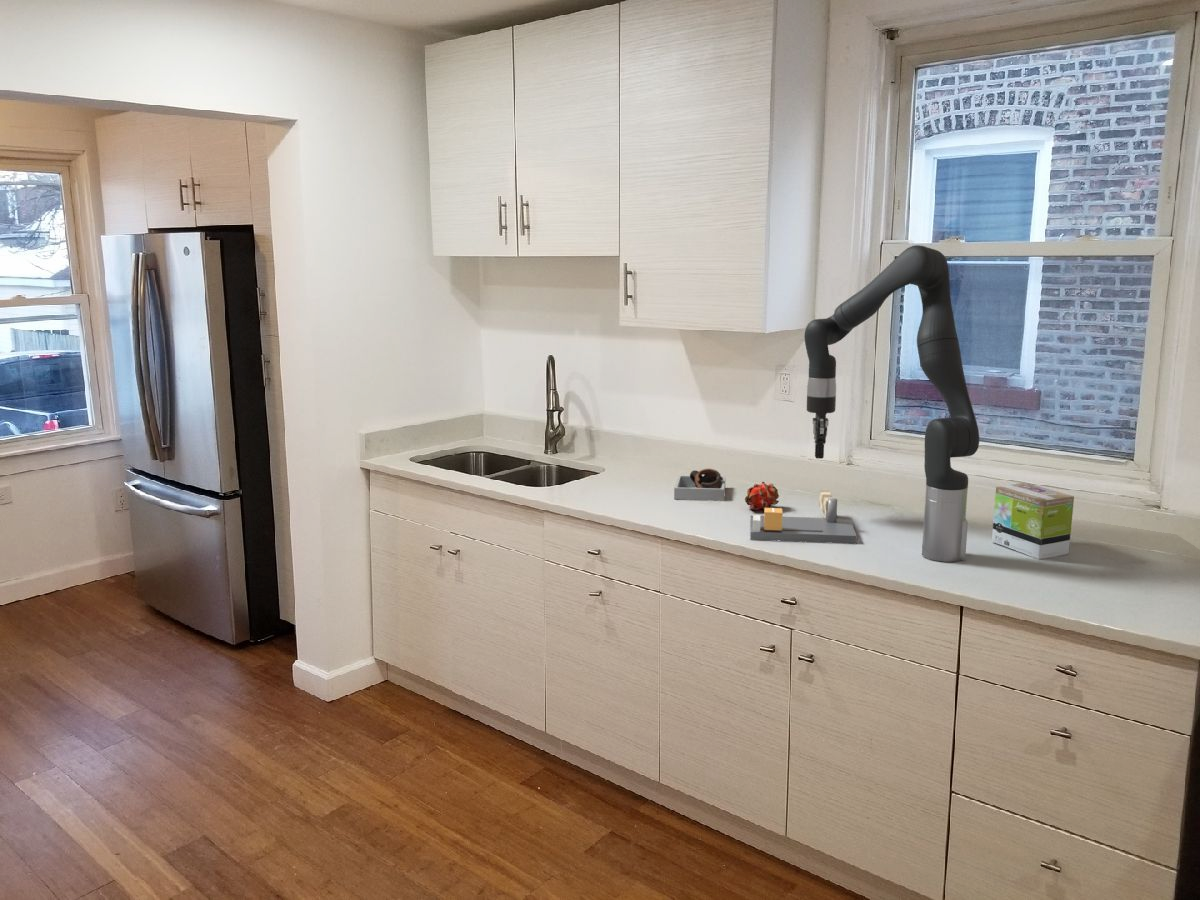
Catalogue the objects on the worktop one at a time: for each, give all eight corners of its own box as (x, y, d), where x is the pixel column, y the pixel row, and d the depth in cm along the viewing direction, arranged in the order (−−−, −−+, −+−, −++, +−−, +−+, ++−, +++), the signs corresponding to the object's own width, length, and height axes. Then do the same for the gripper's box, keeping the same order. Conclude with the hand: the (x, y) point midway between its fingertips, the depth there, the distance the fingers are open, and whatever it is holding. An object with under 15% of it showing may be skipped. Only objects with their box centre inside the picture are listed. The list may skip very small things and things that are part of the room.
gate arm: (835, 517, 249) (835, 501, 249) (825, 517, 250) (826, 501, 249) (828, 506, 261) (828, 490, 260) (819, 506, 261) (819, 490, 260)
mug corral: (725, 487, 294) (725, 476, 293) (723, 500, 278) (724, 489, 277) (678, 486, 296) (678, 475, 295) (674, 499, 280) (674, 488, 279)
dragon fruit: (779, 511, 271) (749, 524, 265) (761, 490, 276) (731, 502, 269) (791, 492, 266) (760, 505, 259) (771, 471, 270) (741, 483, 263)
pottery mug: (730, 492, 291) (729, 472, 285) (712, 510, 286) (711, 490, 280) (698, 477, 297) (697, 457, 292) (680, 494, 292) (678, 475, 287)
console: (849, 526, 251) (850, 496, 249) (856, 543, 235) (857, 512, 234) (750, 522, 255) (751, 493, 253) (750, 539, 239) (751, 509, 238)
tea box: (989, 543, 235) (994, 485, 232) (1020, 538, 239) (1024, 481, 236) (1039, 560, 221) (1044, 499, 218) (1070, 555, 225) (1076, 494, 222)
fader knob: (781, 525, 243) (781, 507, 242) (781, 530, 238) (782, 512, 237) (764, 525, 243) (764, 507, 242) (764, 529, 239) (764, 511, 238)
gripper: (838, 397, 245) (835, 463, 248) (833, 391, 258) (831, 453, 261) (808, 397, 246) (806, 462, 249) (805, 390, 259) (803, 452, 262)
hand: (819, 457), depth 255 cm, fingers closed
